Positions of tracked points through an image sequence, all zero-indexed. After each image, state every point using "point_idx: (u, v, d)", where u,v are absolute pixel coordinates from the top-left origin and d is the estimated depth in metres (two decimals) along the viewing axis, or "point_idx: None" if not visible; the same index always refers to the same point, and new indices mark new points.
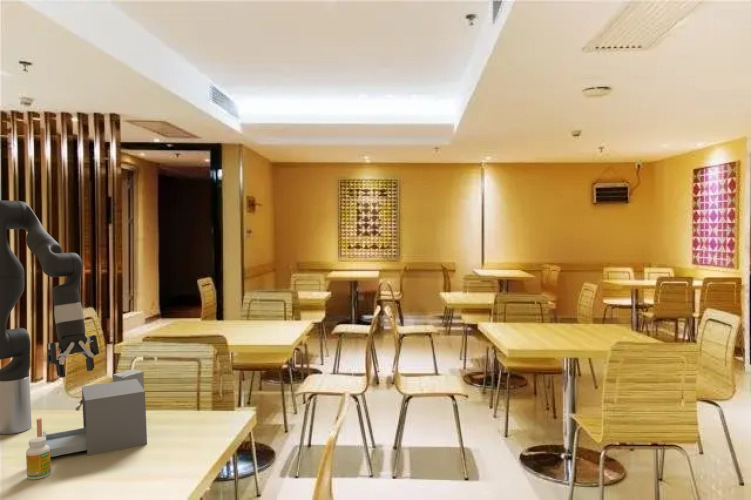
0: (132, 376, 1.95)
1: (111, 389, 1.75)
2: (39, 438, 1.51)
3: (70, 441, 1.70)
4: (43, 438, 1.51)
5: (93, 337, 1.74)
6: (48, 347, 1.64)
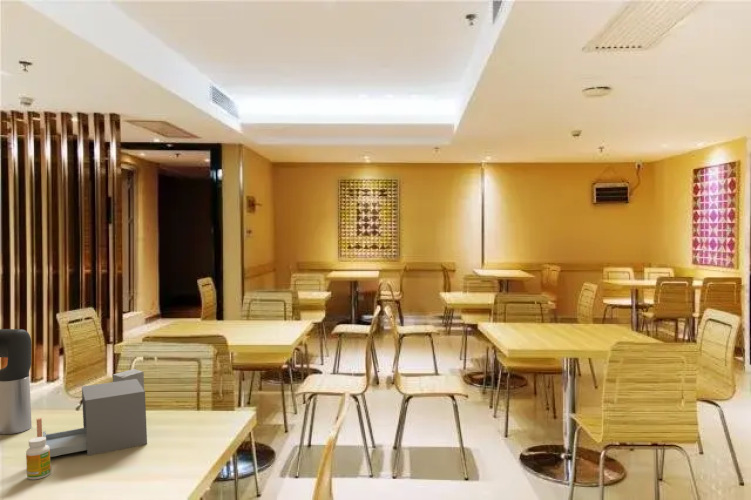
0: (132, 376, 1.95)
1: (111, 389, 1.75)
2: (39, 438, 1.51)
3: (70, 441, 1.70)
4: (43, 438, 1.51)
5: None
6: None
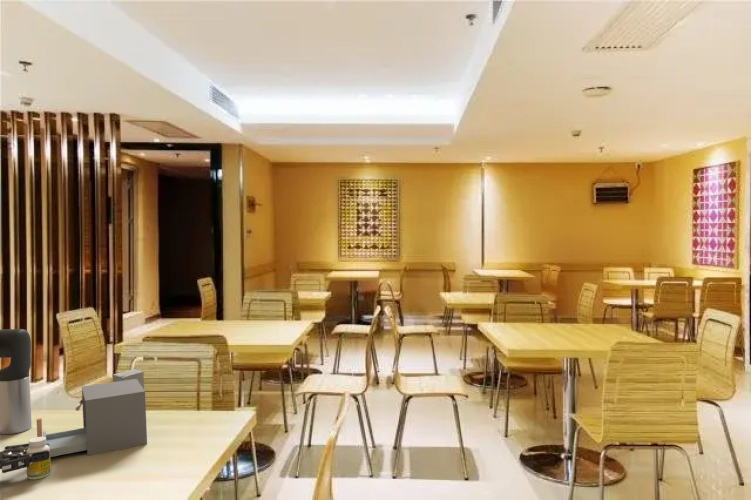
0: (132, 376, 1.95)
1: (111, 389, 1.75)
2: (39, 438, 1.51)
3: (70, 441, 1.70)
4: (43, 438, 1.51)
5: None
6: None
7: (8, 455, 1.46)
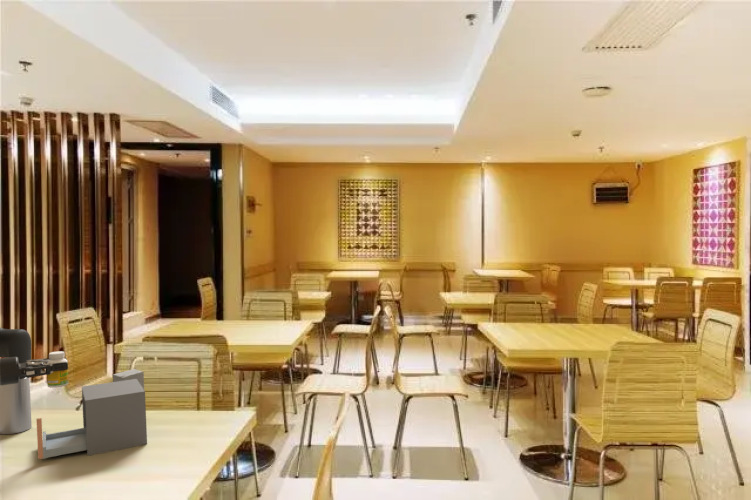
0: (132, 376, 1.95)
1: (111, 389, 1.75)
2: (58, 352, 1.67)
3: (70, 441, 1.70)
4: (62, 352, 1.67)
5: None
6: None
7: (31, 364, 1.62)
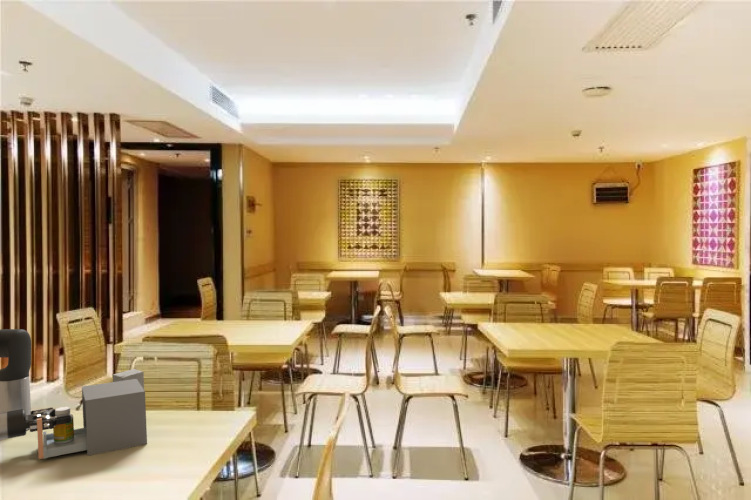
0: (132, 376, 1.95)
1: (111, 389, 1.75)
2: (64, 407, 1.71)
3: (70, 441, 1.70)
4: (67, 407, 1.71)
5: None
6: None
7: (37, 417, 1.65)
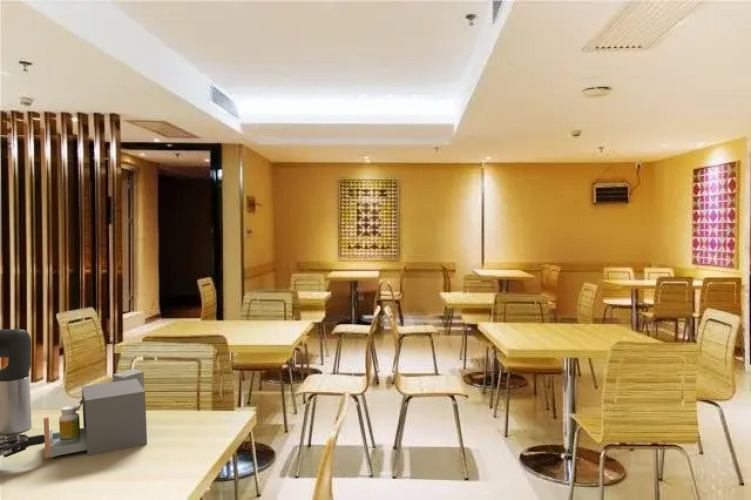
0: (132, 376, 1.95)
1: (111, 389, 1.75)
2: (70, 406, 1.72)
3: (76, 440, 1.71)
4: (74, 406, 1.72)
5: None
6: None
7: (5, 442, 1.54)
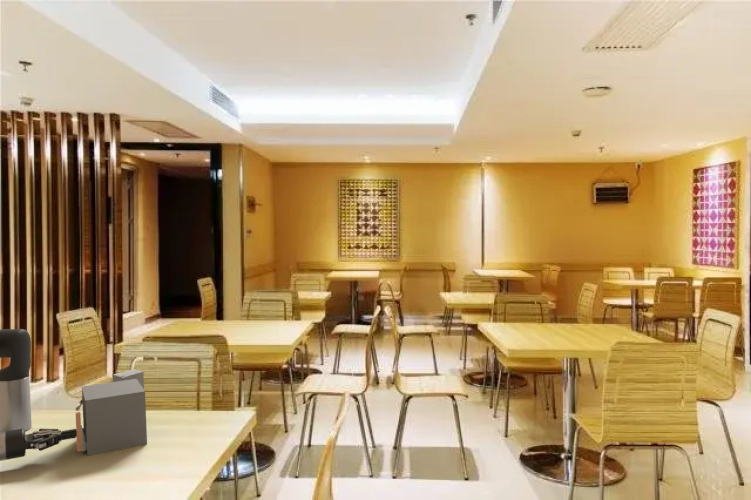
0: (132, 376, 1.95)
1: (111, 389, 1.75)
2: None
3: None
4: None
5: None
6: None
7: (39, 436, 1.58)
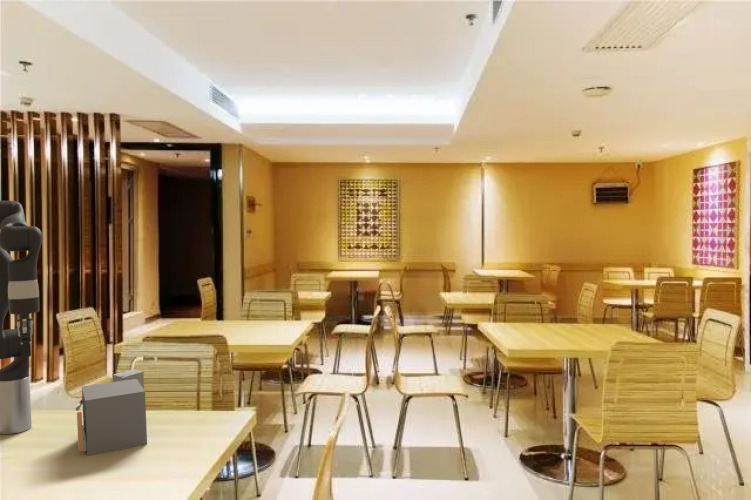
0: (132, 376, 1.95)
1: (111, 389, 1.75)
2: None
3: None
4: None
5: None
6: None
7: (31, 325, 1.63)
